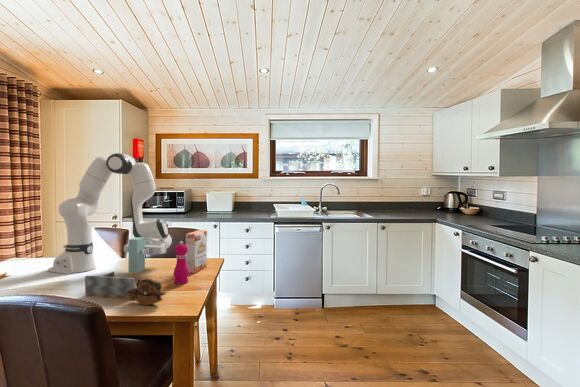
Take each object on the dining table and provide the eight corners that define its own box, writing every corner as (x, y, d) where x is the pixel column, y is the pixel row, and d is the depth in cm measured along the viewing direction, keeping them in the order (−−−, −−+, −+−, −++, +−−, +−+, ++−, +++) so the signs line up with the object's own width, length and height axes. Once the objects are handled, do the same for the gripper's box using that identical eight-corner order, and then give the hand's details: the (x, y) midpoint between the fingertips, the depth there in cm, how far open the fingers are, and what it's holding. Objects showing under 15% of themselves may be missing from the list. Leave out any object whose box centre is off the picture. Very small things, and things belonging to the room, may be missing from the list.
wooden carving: (123, 305, 129) (123, 279, 129) (131, 300, 134) (131, 276, 133) (162, 308, 127) (162, 282, 126) (168, 303, 131) (168, 279, 131)
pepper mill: (180, 285, 153) (180, 243, 152) (170, 283, 157) (169, 241, 156) (192, 281, 159) (192, 240, 158) (182, 279, 163) (182, 239, 162)
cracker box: (195, 273, 172) (195, 234, 171) (185, 273, 174) (184, 233, 173) (207, 266, 186) (207, 230, 185) (197, 266, 187) (197, 229, 186)
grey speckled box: (85, 296, 138) (84, 276, 138) (113, 282, 156) (113, 265, 156) (133, 299, 135) (133, 279, 135) (157, 285, 153) (157, 267, 153)
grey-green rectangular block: (128, 272, 160) (128, 239, 159) (136, 268, 166) (136, 237, 166) (137, 272, 159) (137, 239, 159) (144, 269, 166) (144, 237, 165)
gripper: (133, 239, 177) (116, 244, 163) (169, 241, 174) (154, 246, 160) (133, 251, 177) (116, 257, 163) (169, 253, 174) (154, 259, 160)
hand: (135, 251), depth 162 cm, fingers closed on grey-green rectangular block, 4 cm apart
